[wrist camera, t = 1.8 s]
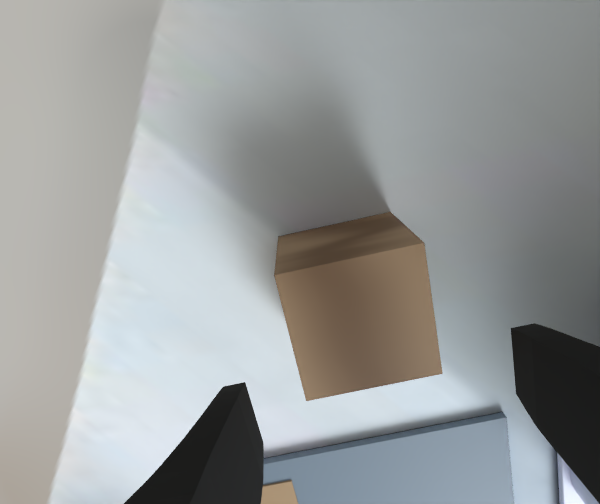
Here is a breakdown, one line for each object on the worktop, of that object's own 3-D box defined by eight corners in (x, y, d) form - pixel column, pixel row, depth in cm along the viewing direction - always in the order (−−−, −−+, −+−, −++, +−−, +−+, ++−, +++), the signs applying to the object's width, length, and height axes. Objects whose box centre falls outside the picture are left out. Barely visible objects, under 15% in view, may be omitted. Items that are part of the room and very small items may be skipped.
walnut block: (390, 211, 19) (424, 242, 14) (406, 313, 20) (442, 373, 15) (278, 236, 19) (274, 275, 14) (302, 334, 20) (306, 400, 16)
